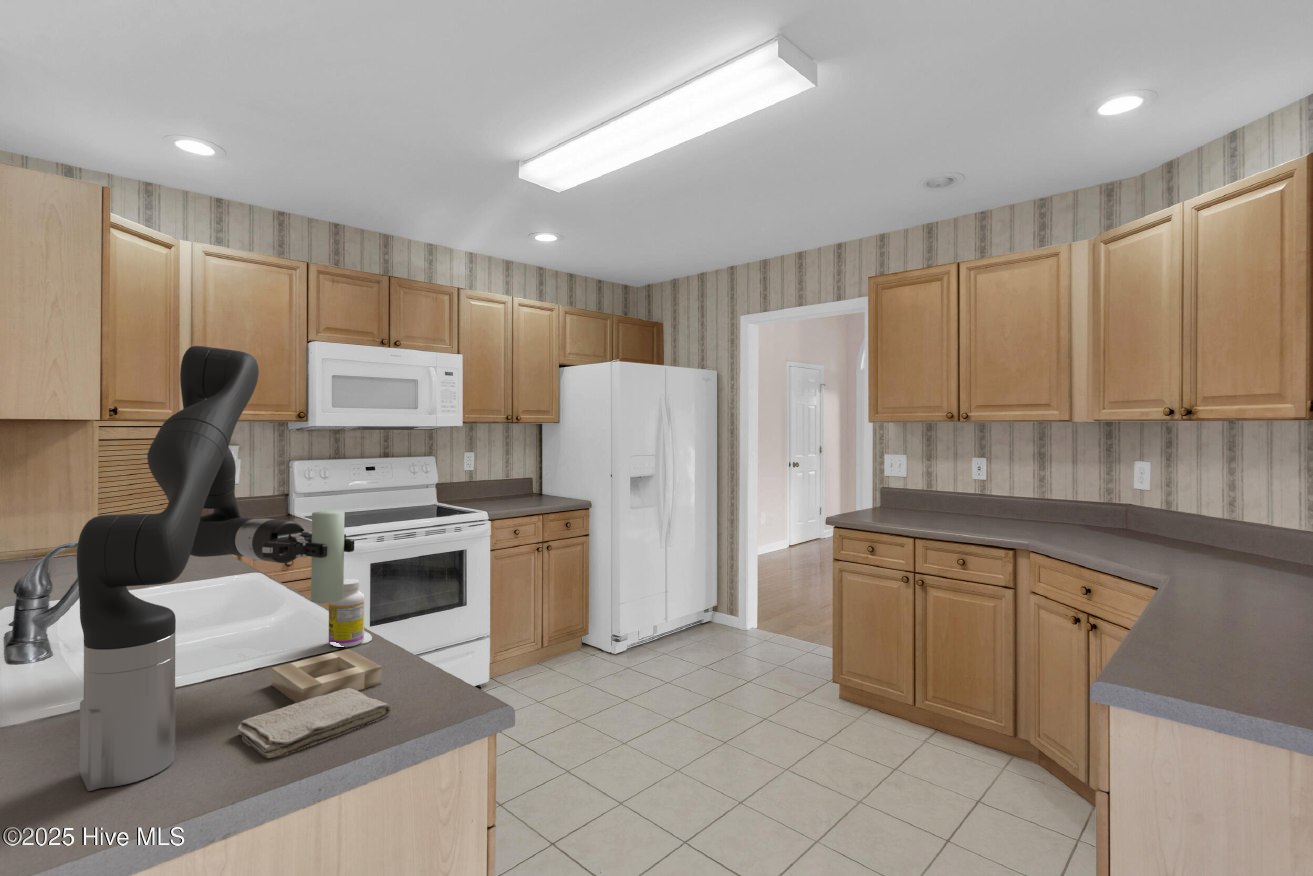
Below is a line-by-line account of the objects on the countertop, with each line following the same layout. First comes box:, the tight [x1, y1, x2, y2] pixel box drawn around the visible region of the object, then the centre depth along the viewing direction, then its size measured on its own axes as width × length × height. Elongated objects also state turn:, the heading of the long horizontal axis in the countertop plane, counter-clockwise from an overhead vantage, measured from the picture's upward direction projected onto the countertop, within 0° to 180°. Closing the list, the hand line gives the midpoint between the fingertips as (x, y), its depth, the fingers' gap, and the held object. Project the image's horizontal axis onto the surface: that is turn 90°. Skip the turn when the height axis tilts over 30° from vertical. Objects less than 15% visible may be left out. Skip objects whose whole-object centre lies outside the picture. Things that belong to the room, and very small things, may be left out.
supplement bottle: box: [328, 578, 366, 648], centre depth 132 cm, size 7×7×13 cm
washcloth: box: [237, 688, 392, 759], centre depth 96 cm, size 12×18×3 cm, turn 144°
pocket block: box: [271, 648, 383, 704], centre depth 111 cm, size 13×13×3 cm
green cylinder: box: [310, 510, 346, 604], centre depth 111 cm, size 5×5×15 cm
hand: (339, 548), depth 110 cm, fingers closed on green cylinder, 5 cm apart
